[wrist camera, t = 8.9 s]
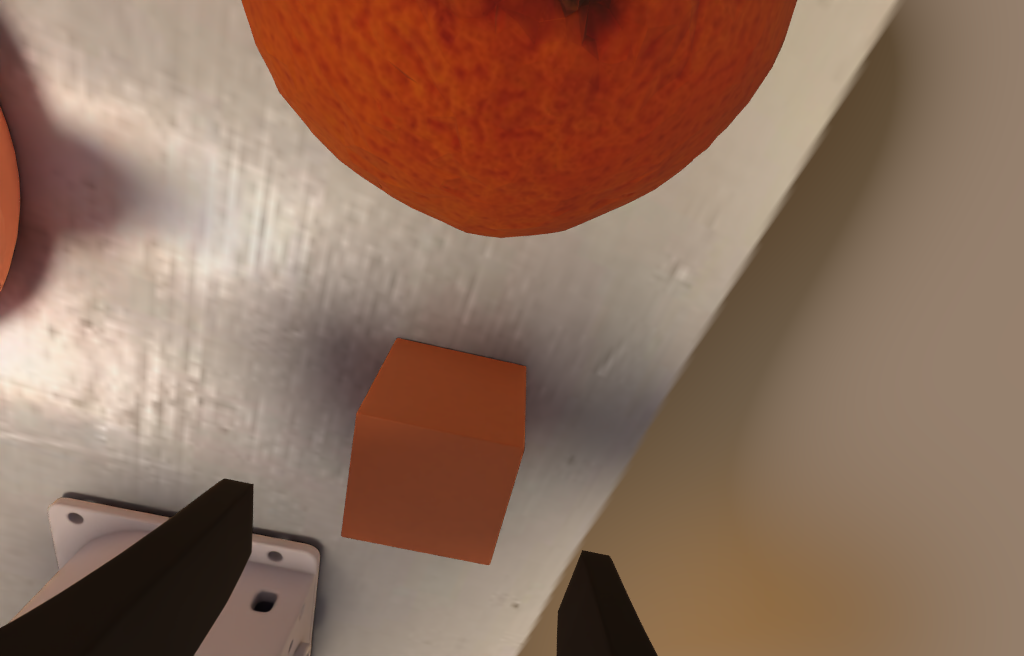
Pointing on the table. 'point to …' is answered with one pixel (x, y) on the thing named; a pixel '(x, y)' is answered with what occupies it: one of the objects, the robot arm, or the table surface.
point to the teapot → (8, 199)
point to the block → (436, 452)
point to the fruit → (518, 96)
